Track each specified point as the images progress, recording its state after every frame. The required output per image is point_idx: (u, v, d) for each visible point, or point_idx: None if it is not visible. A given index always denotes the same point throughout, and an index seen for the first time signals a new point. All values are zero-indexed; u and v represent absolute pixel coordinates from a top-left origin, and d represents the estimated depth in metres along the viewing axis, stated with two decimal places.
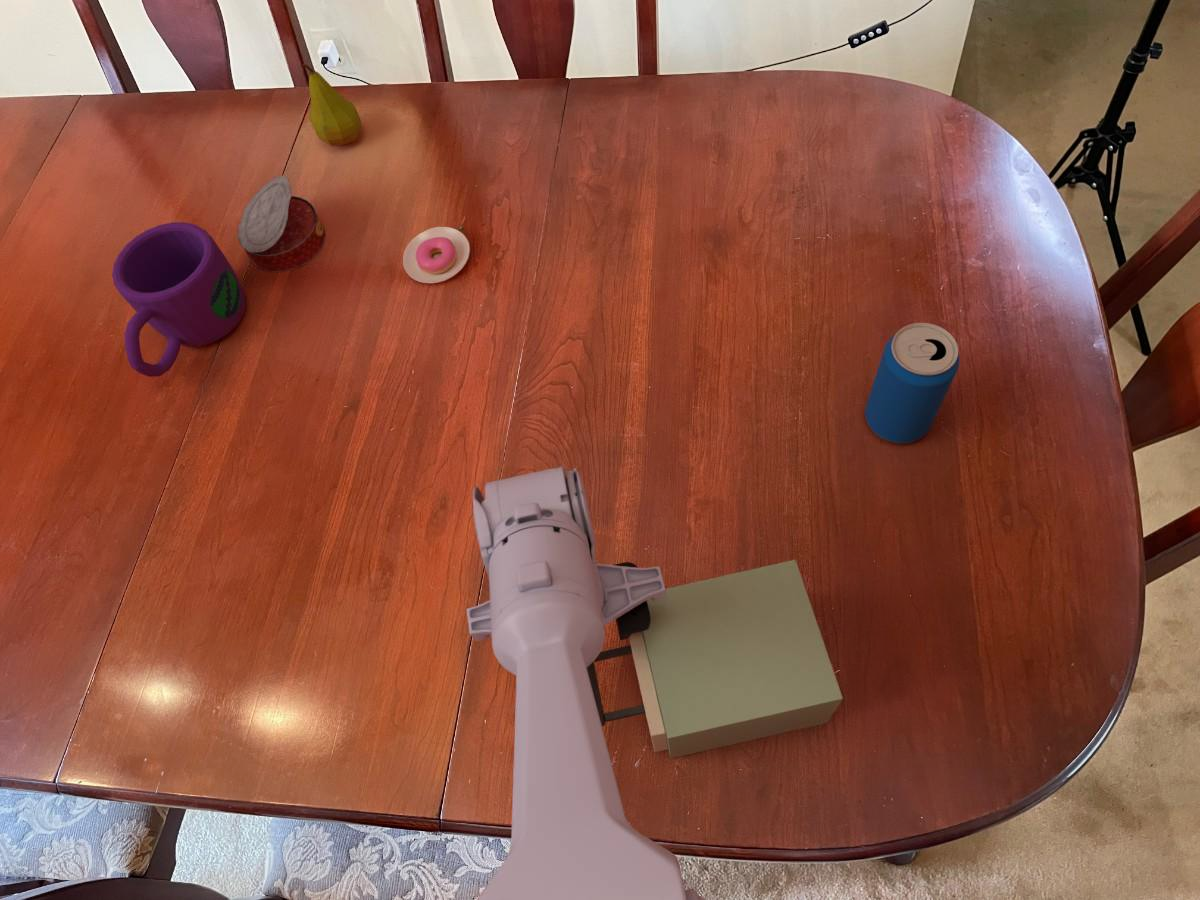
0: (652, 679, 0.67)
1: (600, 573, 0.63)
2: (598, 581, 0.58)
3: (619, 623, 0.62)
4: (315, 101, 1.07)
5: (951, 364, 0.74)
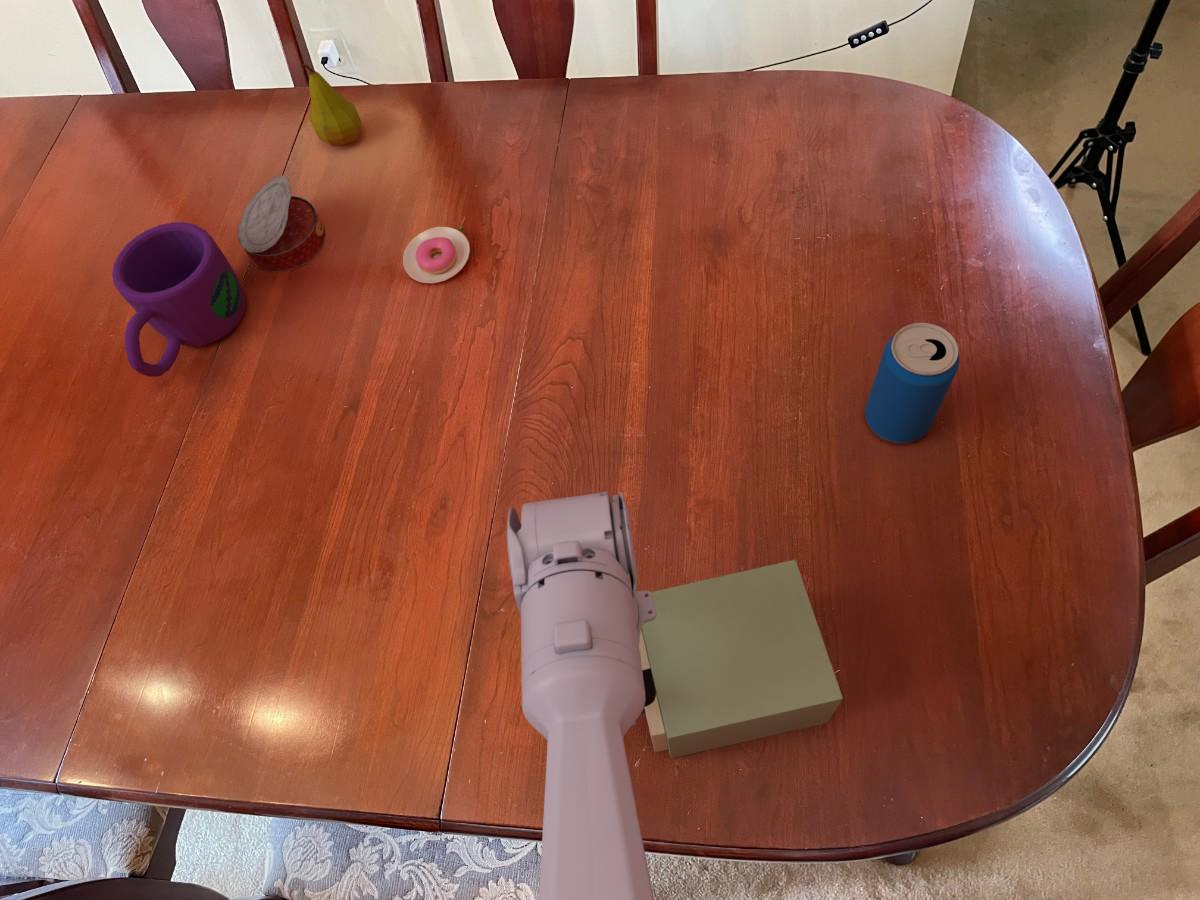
0: None
1: None
2: None
3: None
4: (315, 101, 1.07)
5: (951, 364, 0.74)
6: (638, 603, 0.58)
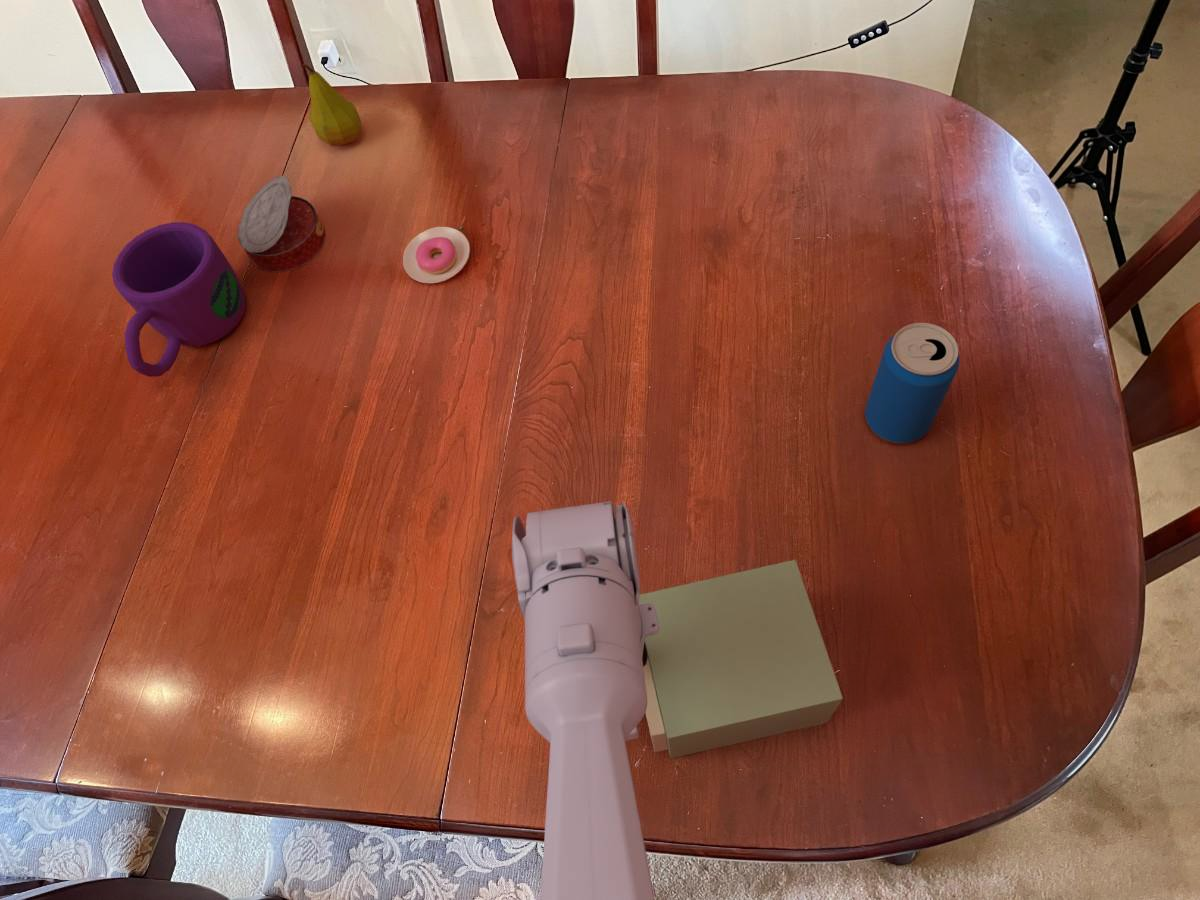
0: (652, 679, 0.67)
1: None
2: None
3: None
4: (315, 101, 1.07)
5: (951, 364, 0.74)
6: (641, 616, 0.58)
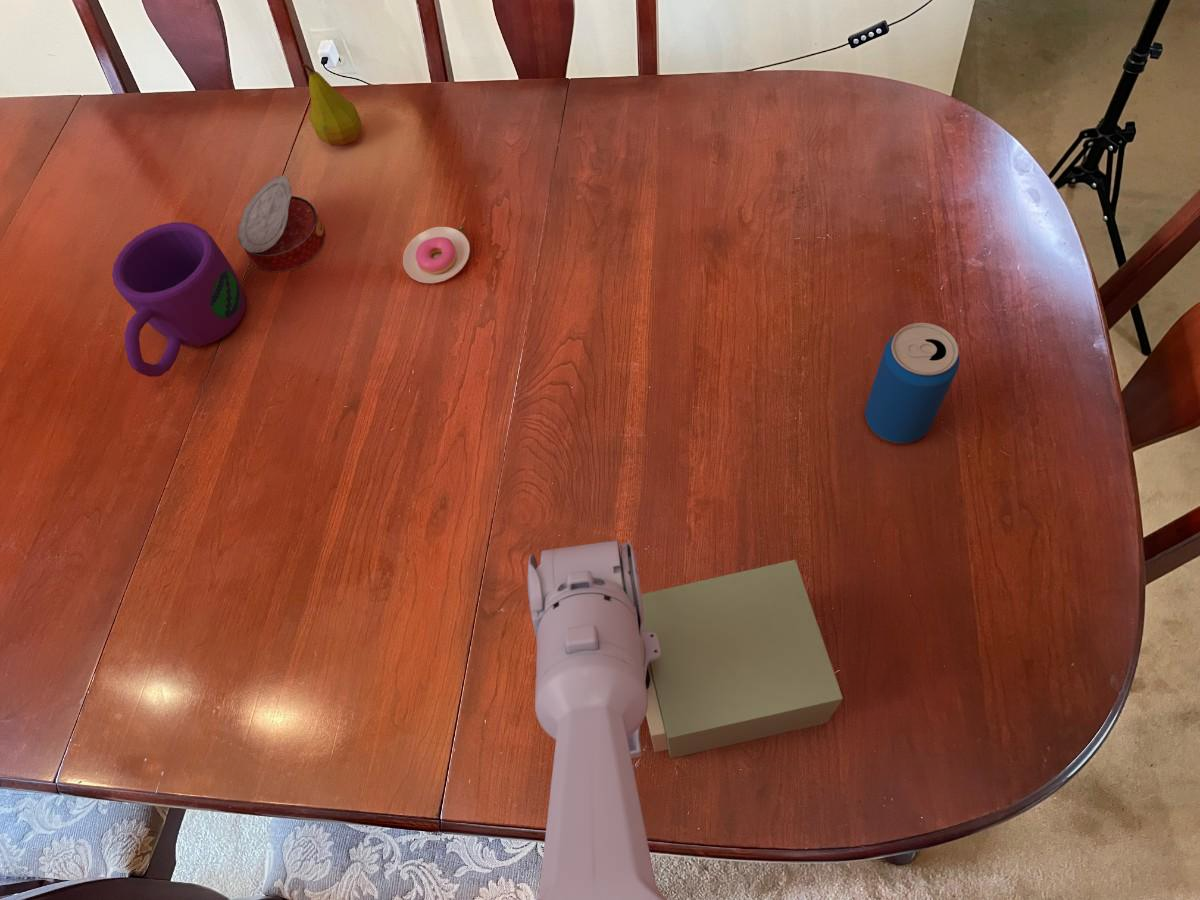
0: (652, 679, 0.67)
1: None
2: None
3: None
4: (315, 101, 1.07)
5: (951, 364, 0.74)
6: (644, 643, 0.63)
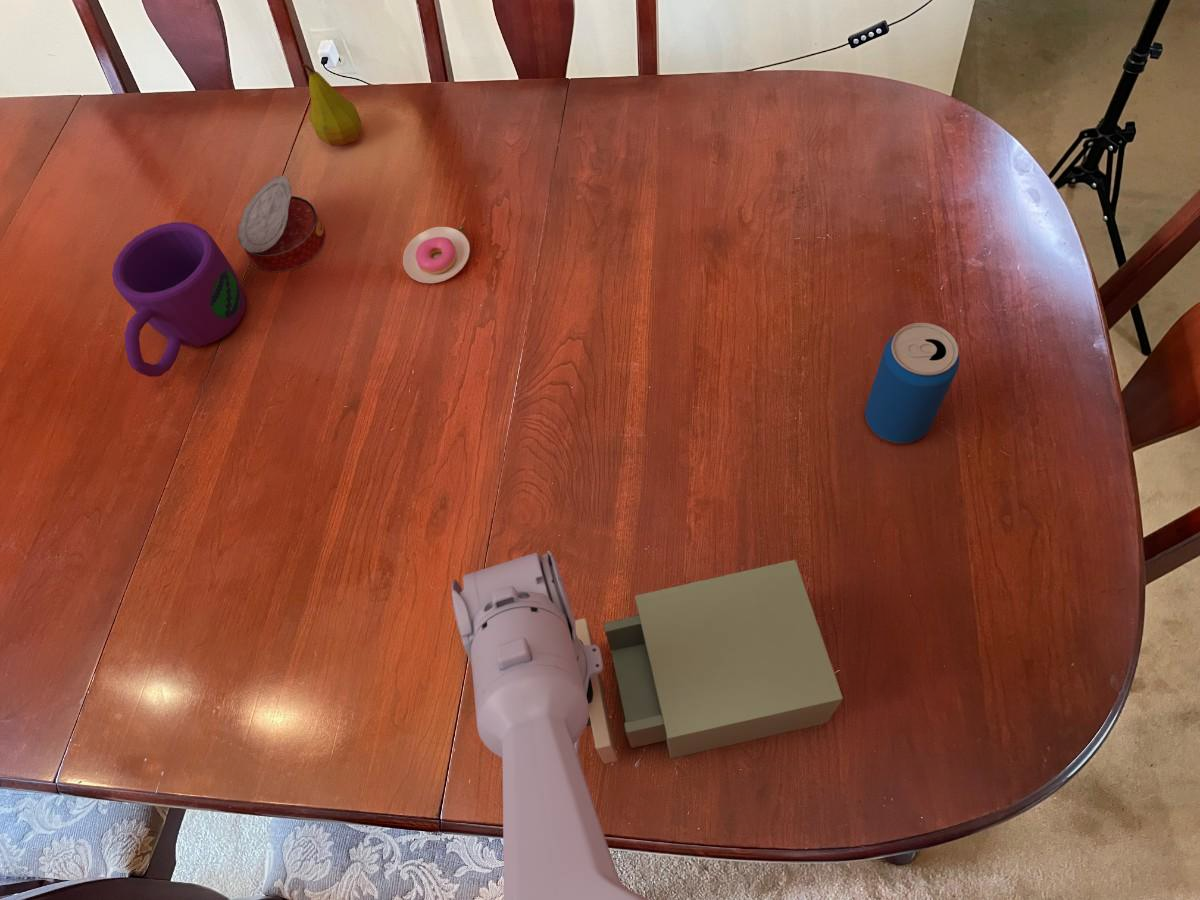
0: (599, 691, 0.67)
1: None
2: None
3: None
4: (315, 101, 1.07)
5: (951, 364, 0.74)
6: (586, 657, 0.63)
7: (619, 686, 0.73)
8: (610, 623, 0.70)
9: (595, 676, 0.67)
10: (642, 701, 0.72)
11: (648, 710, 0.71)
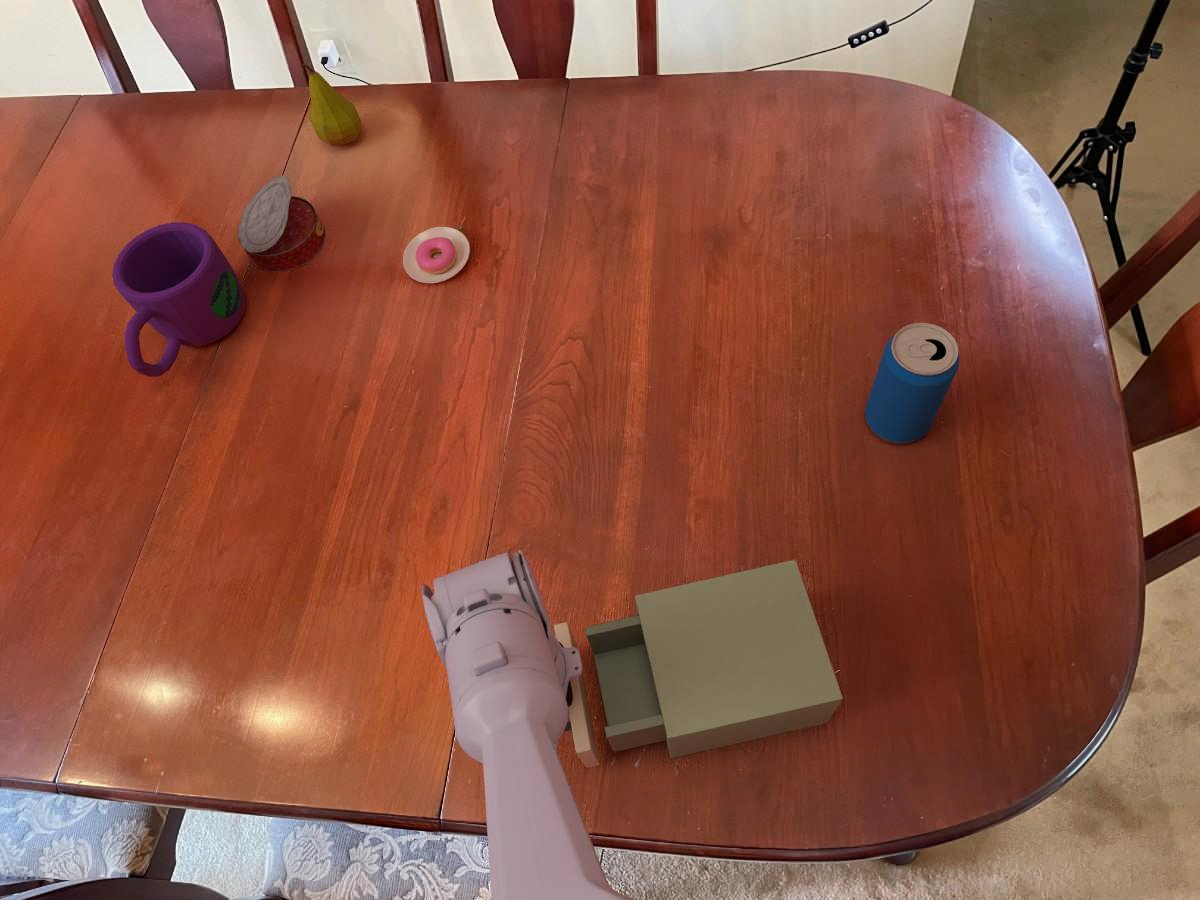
0: (580, 695, 0.67)
1: None
2: None
3: None
4: (315, 101, 1.07)
5: (951, 364, 0.74)
6: (565, 659, 0.62)
7: (601, 690, 0.73)
8: (592, 627, 0.70)
9: (576, 680, 0.67)
10: (624, 705, 0.72)
11: (630, 714, 0.71)
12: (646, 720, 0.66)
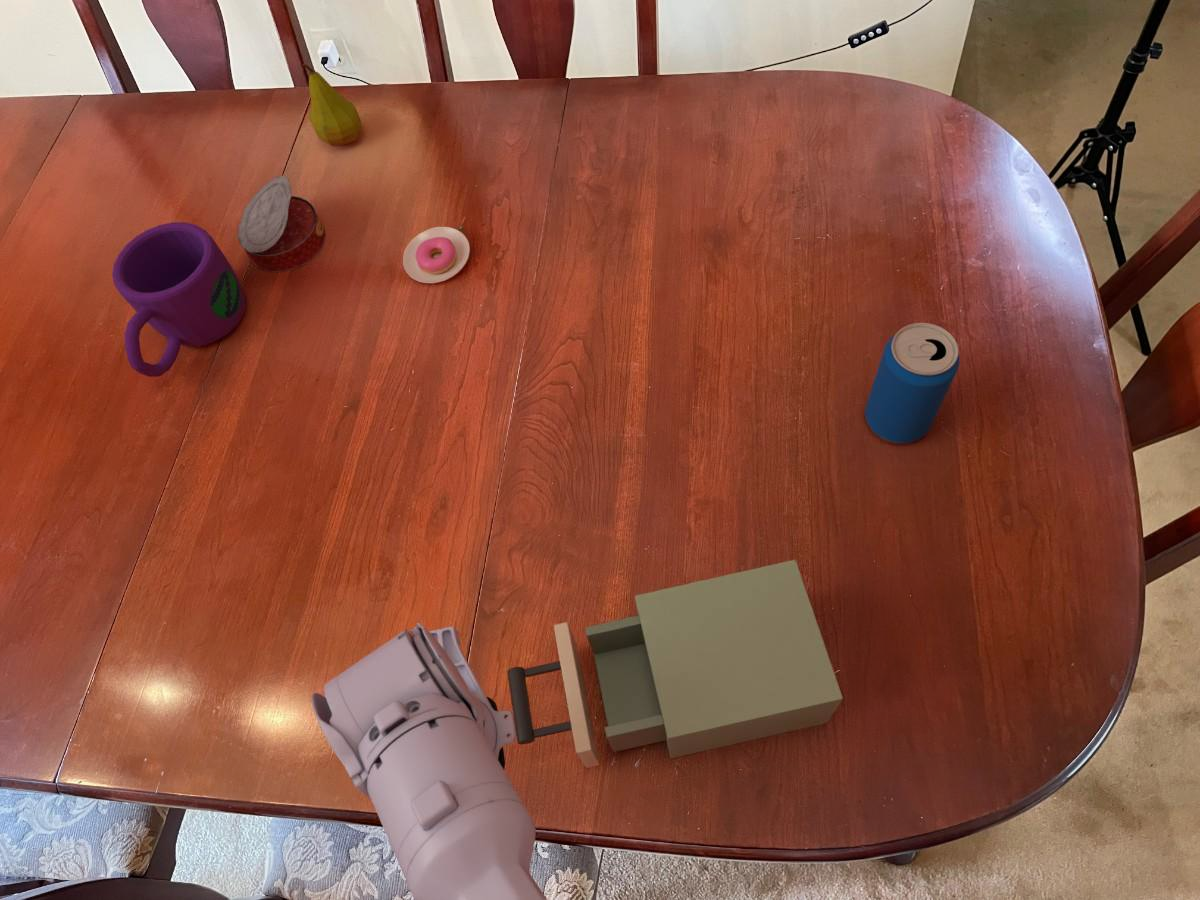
0: (580, 695, 0.67)
1: None
2: None
3: None
4: (315, 101, 1.07)
5: (951, 364, 0.74)
6: (497, 725, 0.55)
7: (601, 690, 0.73)
8: (592, 627, 0.70)
9: (576, 680, 0.67)
10: (624, 705, 0.72)
11: (630, 714, 0.71)
12: (646, 720, 0.66)
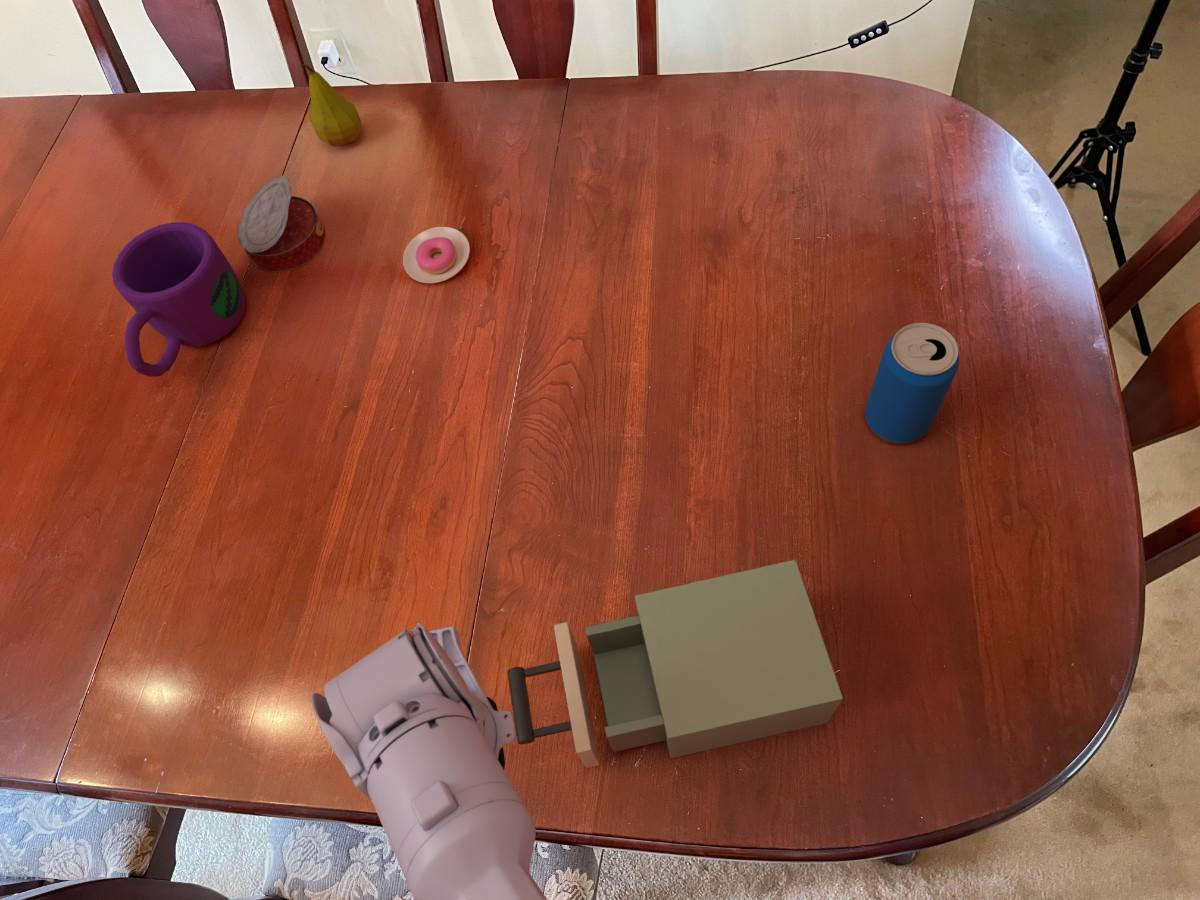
0: (580, 695, 0.67)
1: None
2: None
3: None
4: (315, 101, 1.07)
5: (951, 364, 0.74)
6: (497, 725, 0.55)
7: (601, 690, 0.73)
8: (592, 627, 0.70)
9: (576, 680, 0.67)
10: (624, 705, 0.72)
11: (630, 714, 0.71)
12: (646, 720, 0.66)
